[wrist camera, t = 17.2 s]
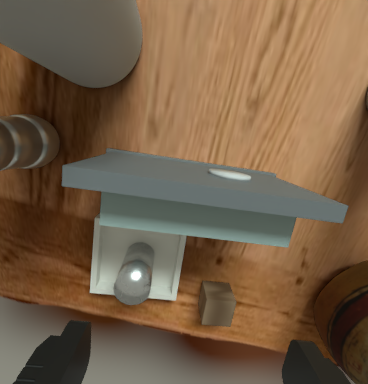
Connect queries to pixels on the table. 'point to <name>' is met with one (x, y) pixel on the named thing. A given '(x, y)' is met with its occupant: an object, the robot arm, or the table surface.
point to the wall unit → (197, 198)
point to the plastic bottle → (26, 142)
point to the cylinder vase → (75, 37)
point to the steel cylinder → (135, 274)
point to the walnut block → (216, 304)
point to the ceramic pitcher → (346, 320)
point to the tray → (115, 252)
